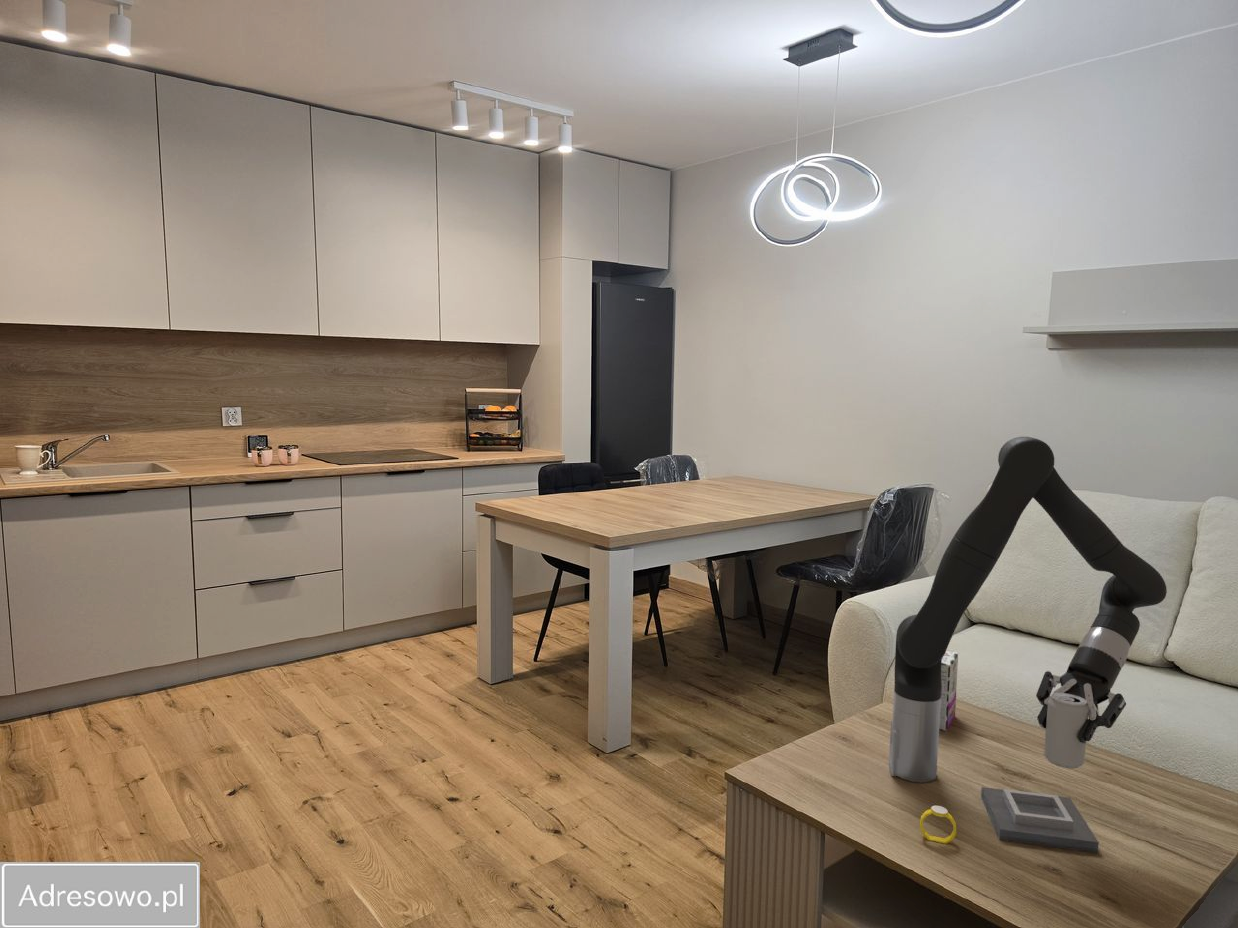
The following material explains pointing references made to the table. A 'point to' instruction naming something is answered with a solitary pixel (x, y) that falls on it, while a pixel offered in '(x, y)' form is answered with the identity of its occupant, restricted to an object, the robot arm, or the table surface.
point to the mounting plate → (1038, 819)
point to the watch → (941, 813)
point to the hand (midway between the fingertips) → (1061, 732)
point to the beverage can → (1065, 730)
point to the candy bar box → (948, 689)
